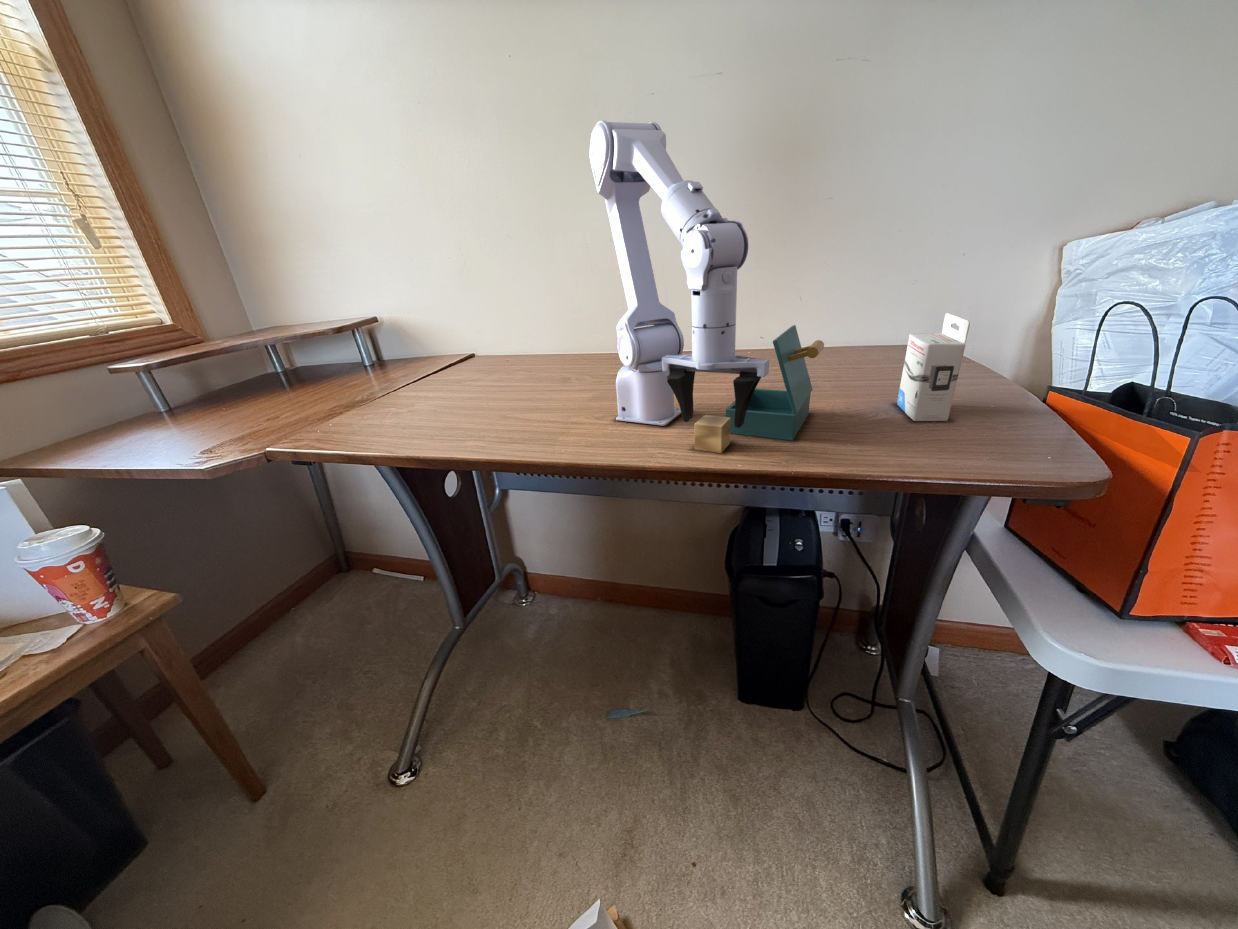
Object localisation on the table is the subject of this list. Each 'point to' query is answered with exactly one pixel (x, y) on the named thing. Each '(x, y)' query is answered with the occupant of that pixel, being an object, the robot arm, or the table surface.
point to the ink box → (932, 371)
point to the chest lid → (795, 365)
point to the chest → (770, 415)
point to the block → (712, 433)
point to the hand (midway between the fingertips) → (713, 422)
